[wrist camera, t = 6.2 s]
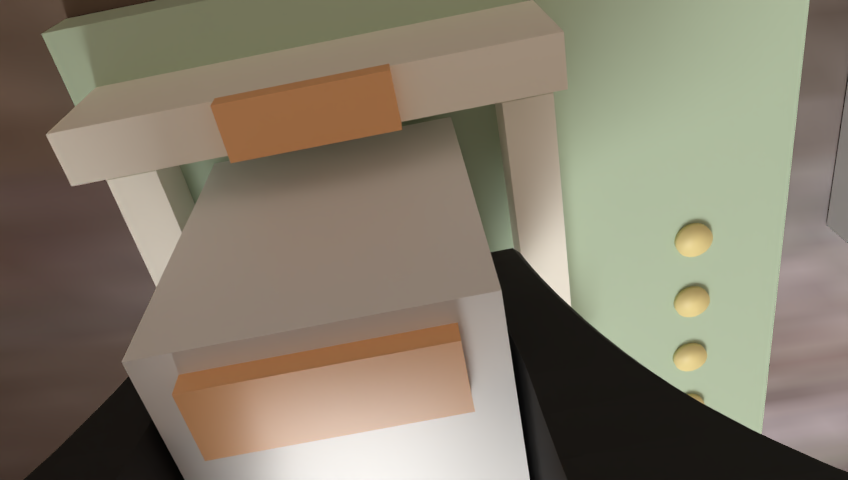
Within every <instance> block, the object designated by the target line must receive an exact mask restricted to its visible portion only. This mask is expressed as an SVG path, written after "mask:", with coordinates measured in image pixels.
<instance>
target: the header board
mask: <svg viewBox="0 0 848 480" xmlns="http://www.w3.org/2000/svg"><path fill="white" fill-rule="evenodd" d="M808 9H809V0H155V1H151V2H146V3H141V4H136V5H131V6H126V7H121V8H116V9H111V10H106V11H101V12H96V13H92V14H87V15H82V16H77V17H72V18H67V19H65V20H63V21H61V22H60V23H58V24H57V25H55V26H53V27H52V28H50V29H48V30H47V31H45V32H44V33H42V36H43V39H44V41H45V43H46V45H47V47H48V49H49V51H50V54H51V56H52V58H53V60H54V62H55V64H56V66H57V69H58V71H59V73H60V75H61V77H62V79H63V82H64V84H65V86H66V88H67V90H68V92H69V94H70V97H71V99H72V101H73V103H74V105H75V107H74V108H73V109H72V110H71V111H70V112H69V113H68V114H67V115H66V116H65V117H64V118H63V119H61V120H60V121H59V122H58V123H57V124H56V125H55V126H54V127H53V128H52V129H51V130H50V131H49V132H48V133H47V134H46V136H47V138H48V140H49V142H50V144H51V146H52V148H53V150H54V152H55V154H56V156H57V158H58V160H59V162H60V164H61V166H62V168H63V170H64V172H65V174H66V176H67V178H68V180H69V182H70V184H71V186H76V185H81V184H86V183H92V182H97V181H102V180H106V181H107V183H108V185H109V187H110V189H111V192H112V194H113V196H114V198H115V200H116V202H117V204H118V207H119V209H120V211H121V213H122V215H123V217H124V219H125V222H126V224H127V226H128V228H129V230H130V232H131V234H132V237H133V239H134V241H135V243H136V245H137V247H138V249H139V252H140V254H141V256H142V258H143V260H144V262H145V264H146V266H147V269H148V271H149V273H150V275H151V277H152V279H153V281H154V284H155V286H156V287H157V285H158V283H159V281H160V279H161V276H162V274H163V272H164V270H165V268H166V266H167V264H168V262H169V259H170V257H171V255H172V253H173V251H174V249H175V247H176V244H177V242H178V240H179V238H180V236H181V234H182V232H183V229H184V227H185V225H186V223H187V221H188V219H189V217H190V214H191V212H192V210H193V208H194V206H195V204H196V202H197V200H198V197H199V195H200V193H201V191H202V189H203V187H204V185H205V182H206V180H207V178H208V176H209V174H210V172H211V170H212V167H213V165H214V163H219V162H224V161H229V160H230V163H235V162H240V161H246V160H251V159H256V158H261V157H266V156H271V155H276V154H281V153H286V152H292V151H297V150H302V149H307V148H312V147H317V146H322V145H327V144H333V143H338V142H343V141H348V140H353V139H358V138H363V137H368V136H373V135H379V134H384V133H389V132H394V131H399V130H402V126H406V125H411V124H416V123H421V122H427V121H432V120H437V119H442V118H447V117H451V119H452V122H453V126H454V129H455V132H456V136H457V139H458V143H459V146H460V150H461V153H462V156H463V160H464V163H465V167H466V170H467V174H468V177H469V180H470V184H471V187H472V191H473V194H474V198H475V201H476V205H477V208H478V211H479V215H480V218H481V222H482V225H483V229H484V232H485V235H486V239H487V242H488V246H489V249H490V252H495V251H500V250H505V249H510V248H514V249H515V250H517V251H518V252H520V253H521V254H522V256H523V257H524V258H525V260H526V261H527V262H528V263H529V264H530V266H531V267H532V268H533V269H534V270H535V271H536V272H537V273H538V274H539V276H540V277H541V278H542V279H543V280H544V281H545V282H546V283H547V284H548V285H549V286H550V287H551V288H552V289H553V290H554V291H555V292H556V293H557V294H558V295H559V296H560V297H561V298H562V299H563V300H564V301H565V302H566V303H567V304H568V305H570V306H571V307H572V308H573V309H574V310H575V311H576V312H577V313H578V314H579V315H581V316H582V317H583V318H584V319H585V320H586V321H587V322H588V323H589V324H591V325H592V326H593V327H594V328H595V329H597V330H598V331H599V332H600V333H601V334H603V335H604V336H605V337H606V338H608V339H609V340H610V341H611V342H613V343H614V344H615V345H616V346H618V347H619V348H620V349H621V350H623V351H624V352H625V353H627V354H628V355H629V356H631V357H632V358H633V359H635V360H636V361H638V362H639V363H640V364H642V365H643V366H645V367H646V368H647V369H649V370H650V371H652V372H653V373H655V374H656V375H658V376H659V377H661V378H662V379H664V380H665V381H667V382H668V383H670V384H671V385H673V386H674V387H676V388H678V389H679V390H681V391H683V392H684V393H686V394H688V395H689V396H691V397H692V398H694V399H696V400H697V401H699V402H701V403H703V404H705V405H707V406H708V407H710V408H712V409H714V410H716V411H718V412H720V413H722V414H723V415H725V416H727V417H729V418H731V419H733V420H735V421H737V422H738V423H740V424H742V425H744V426H746V427H748V428H750V429H752V430H754V431H756V432H758V433H760V434H762V425H763V416H764V407H765V398H766V389H767V380H768V371H769V362H770V353H771V344H772V335H773V326H774V317H775V308H776V299H777V290H778V280H779V271H780V262H781V253H782V244H783V235H784V226H785V217H786V208H787V199H788V190H789V181H790V172H791V163H792V154H793V145H794V136H795V127H796V118H797V109H798V99H799V90H800V81H801V72H802V63H803V54H804V45H805V36H806V27H807V18H808Z"/></svg>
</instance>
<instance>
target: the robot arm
mask: <svg viewBox="0 0 848 480" xmlns="http://www.w3.org/2000/svg"><path fill="white" fill-rule="evenodd" d="M490 253H491V256H492V259H493V263H494V266H495V270H496V273H497V277H498V280H499V284H500V287H501V290H502V297H503V304H504V310H505V317H506V324H507V330H508V337H509V344H510V350H511V357H512V364H513V370H514V377H515V384H516V390H517V397H518V404H519V410H520V417H521V424H522V430H523V437H524V444H525V451H526V457H527V464H528V471H529V477H530V480H848V472H846V471H843V470H841V469H838V468H835V467H833V466H831V465H828V464H826V463H823V462H821V461H819V460H817V459H814V458H812V457H810V456H808V455H805V454H803V453H801V452H799V451H797V450H794V449H792V448H790V447H788V446H785V445H783V444H781V443H779V442H776V441H774V440H772V439H770V438H768V437H766V436H764V435H762V434H760V433H758V432H756V431H754V430H752V429H750V428H748V427H746V426H744V425H742V424H740V423H738V422H737V421H735V420H733V419H731V418H729V417H727V416H725V415H723V414H722V413H720V412H718V411H716V410H714V409H712V408H710V407H708V406H707V405H705V404H703V403H701V402H699V401H697V400H696V399H694V398H692V397H691V396H689V395H688V394H686V393H684V392H683V391H681V390H679V389H678V388H676V387H674V386H673V385H671V384H670V383H668V382H667V381H665V380H664V379H662V378H661V377H659V376H658V375H656V374H655V373H653V372H652V371H650V370H649V369H647V368H646V367H645V366H643V365H642V364H640V363H639V362H638V361H636V360H635V359H633V358H632V357H631V356H629V355H628V354H627V353H625V352H624V351H623V350H621V349H620V348H619V347H618V346H616V345H615V344H614V343H613V342H611V341H610V340H609V339H608V338H606V337H605V336H604V335H603V334H601V333H600V332H599V331H598V330H597V329H595V328H594V327H593V326H592V325H591V324H589V323H588V322H587V321H586V320H585V319H584V318H583V317H582V316H581V315H579V314H578V313H577V312H576V311H575V310H574V309H573V308H572V307H571V306H570V305H568V304H567V303H566V302H565V301H564V300H563V299H562V298H561V297H560V296H559V295H558V294H557V293H556V292H555V291H554V290H553V289H552V288H551V287H550V286H549V285H548V284H547V283H546V282H545V281H544V280H543V279H542V278H541V277H540V276H539V274H538V273H537V272H536V271H535V270H534V269H533V268H532V267H531V266H530V264H529V263H528V262H527V261H526V260H525V258H524V257H523V256H522V254H521V253H520V252H518V251H517V250H515V249H514V248H510V249H505V250H500V251H495V252H490ZM24 480H185V479H184V478H183V476H182V474H181V472H180V470H179V468H178V466H177V465H176V463H175V461H174V459H173V457H172V455H171V453H170V452H169V450H168V448H167V446H166V444H165V442H164V440H163V439H162V437H161V435H160V433H159V431H158V429H157V427H156V426H155V424H154V422H153V420H152V418H151V416H150V414H149V413H148V411H147V409H146V407H145V405H144V403H143V401H142V400H141V398H140V396H139V394H138V392H137V390H136V388H135V387H134V385H133V383H132V381H131V379H130V377H128V378H127V379H126V380H125V381H124V382H123V383H122V384H121V386H120V387H119V388H118V389H117V390H116V391H115V392H114V393H113V394H112V395H111V396H110V397H109V398H108V399H107V400H106V401H105V402H104V403H103V404H102V405H101V406H100V407H99V408H98V409H97V410H96V411H95V412H94V413H93V414H92V415H91V416H90V417H89V418H88V419H87V420H86V421H85V422H84V423H83V424H82V425H81V426H80V427H79V428H78V429H77V430H76V431H75V432H74V433H73V434H72V435H71V436H70V437H69V438H68V439H67V440H66V441H65V442H64V443H63V444H62V445H61V446H60V447H59V448H58V449H57V450H56V451H55V452H54V453H53V454H52V455H51V456H49V457H48V458H47V459H46V460H45V461H44V462H43V463H42V464H41V465H40V466H38V467H37V468H36V469H35V470H34V471H33V472H32V473H31V474H30V475H28V476H27V477H26V478H25V479H24Z"/></svg>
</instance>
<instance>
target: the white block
mask: <svg viewBox="0 0 848 480" xmlns="http://www.w3.org/2000/svg"><path fill="white" fill-rule="evenodd" d="M122 364H123V366H124V368H125V370H126V372H127V374H128V375H129V377H130V379H131V381H132V383H133V385H134V387H135V388H136V390H137V392H138V394H139V396H140V398H141V400H142V401H143V403H144V405H145V407H146V409H147V411H148V413H149V414H150V416H151V418H152V420H153V422H154V424H155V426H156V427H157V429H158V431H159V433H160V435H161V437H162V439H163V440H164V442H165V444H166V446H167V448H168V450H169V452H170V453H171V455H172V457H173V459H174V461H175V463H176V465H177V466H178V468H179V470H180V472H181V474H182V476H183V478H184V479H185V480H530V477H529V471H528V464H527V457H526V451H525V444H524V437H523V430H522V424H521V417H520V410H519V404H518V397H517V390H516V384H515V377H514V370H513V364H512V357H511V350H510V344H509V337H508V330H507V324H506V317H505V310H504V304H503V297H502V290H501V287H500V284H499V280H498V277H497V273H496V270H495V266H494V263H493V259H492V256H491V253H490V249H489V246H488V242H487V239H486V235H485V232H484V229H483V225H482V222H481V218H480V215H479V211H478V208H477V205H476V201H475V198H474V194H473V191H472V187H471V184H470V180H469V177H468V174H467V170H466V167H465V163H464V160H463V156H462V153H461V150H460V146H459V143H458V139H457V136H456V132H455V129H454V126H453V122H452V119H451V117H447V118H442V119H437V120H432V121H427V122H421V123H416V124H411V125H406V126H402V130H399V131H394V132H389V133H384V134H379V135H373V136H368V137H363V138H358V139H353V140H348V141H343V142H338V143H333V144H327V145H322V146H317V147H312V148H307V149H302V150H297V151H292V152H286V153H281V154H276V155H271V156H266V157H261V158H256V159H251V160H246V161H240V162H235V163H230V160H229V161H224V162H219V163H214V165H213V167H212V170H211V172H210V174H209V176H208V178H207V180H206V182H205V185H204V187H203V189H202V191H201V193H200V195H199V197H198V200H197V202H196V204H195V206H194V208H193V210H192V212H191V214H190V217H189V219H188V221H187V223H186V225H185V227H184V229H183V232H182V234H181V236H180V238H179V240H178V242H177V244H176V247H175V249H174V251H173V253H172V255H171V257H170V259H169V262H168V264H167V266H166V268H165V270H164V272H163V274H162V276H161V279H160V281H159V283H158V285H157V287H156V289H155V291H154V294H153V296H152V298H151V300H150V302H149V304H148V306H147V309H146V311H145V313H144V315H143V317H142V319H141V321H140V323H139V326H138V328H137V330H136V332H135V334H134V336H133V338H132V341H131V343H130V345H129V347H128V349H127V351H126V353H125V356H124V358H123V360H122Z"/></svg>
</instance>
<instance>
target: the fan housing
mask: <svg viewBox="0 0 848 480" xmlns="http://www.w3.org/2000/svg"><path fill="white" fill-rule="evenodd" d="M827 226H828V227H829V228H830V229H832V230H833V231H834V232H835V233H836V234H837V235H839V236H840V237H841V238H842V239H843V240H844V241H846V242H847V243H848V83H847V90H846V97H845V104H844V110H843V117H842V124H841V131H840V138H839V144H838V151H837V158H836V165H835V171H834V178H833V185H832V192H831V199H830V205H829V212H828V219H827Z"/></svg>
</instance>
